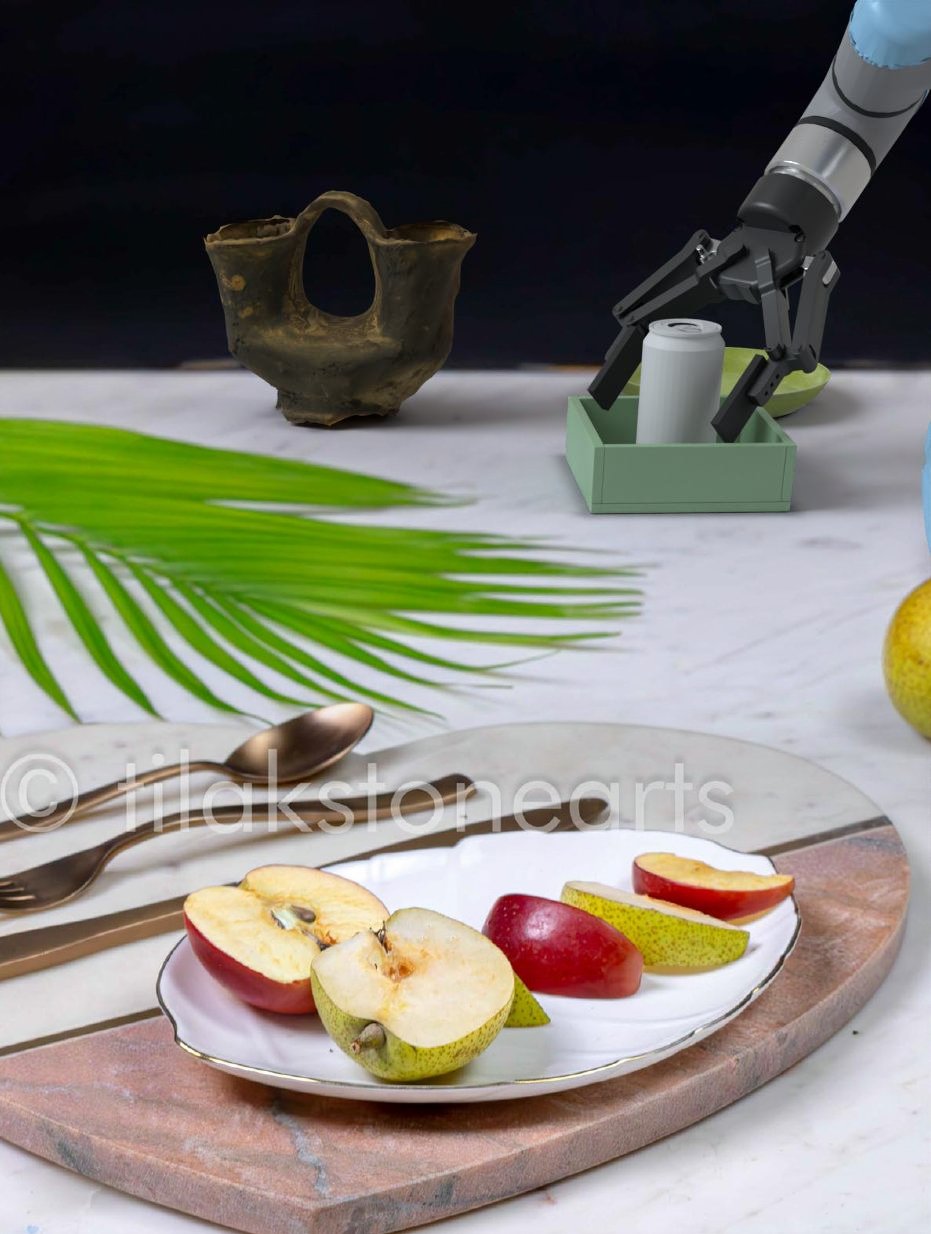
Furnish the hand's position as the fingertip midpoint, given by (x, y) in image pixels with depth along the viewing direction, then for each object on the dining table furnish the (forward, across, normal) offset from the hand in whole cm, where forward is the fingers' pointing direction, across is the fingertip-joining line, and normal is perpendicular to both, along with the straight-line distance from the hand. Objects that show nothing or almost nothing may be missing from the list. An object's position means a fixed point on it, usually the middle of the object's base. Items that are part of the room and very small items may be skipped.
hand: (657, 417), depth 135 cm
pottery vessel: (+8, +34, 0) cm, 35 cm away
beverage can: (+2, 0, -6) cm, 6 cm away
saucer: (-14, +15, -22) cm, 30 cm away
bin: (+2, 0, -6) cm, 6 cm away
